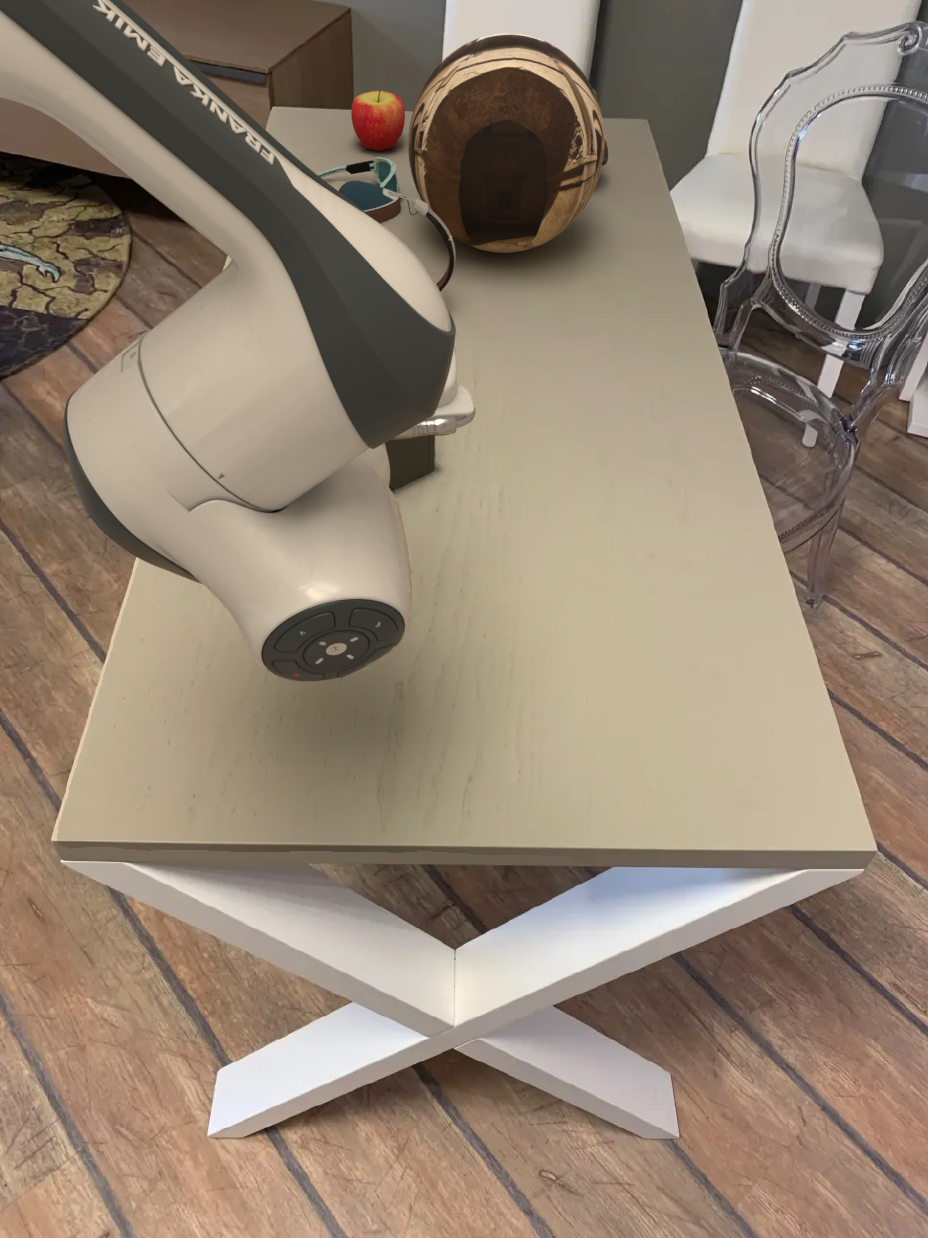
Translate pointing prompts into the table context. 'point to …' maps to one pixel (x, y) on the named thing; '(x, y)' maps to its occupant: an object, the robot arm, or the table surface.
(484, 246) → the sphere
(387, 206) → the headphones
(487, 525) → the table surface
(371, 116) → the apple
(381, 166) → the sunglasses
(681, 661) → the table surface
